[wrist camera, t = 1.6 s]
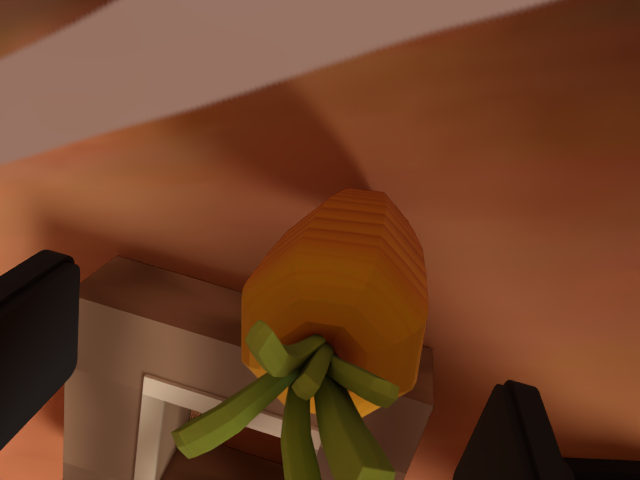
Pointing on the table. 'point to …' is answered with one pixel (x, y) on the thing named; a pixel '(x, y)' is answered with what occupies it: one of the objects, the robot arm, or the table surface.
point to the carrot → (328, 337)
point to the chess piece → (603, 469)
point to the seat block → (184, 383)
